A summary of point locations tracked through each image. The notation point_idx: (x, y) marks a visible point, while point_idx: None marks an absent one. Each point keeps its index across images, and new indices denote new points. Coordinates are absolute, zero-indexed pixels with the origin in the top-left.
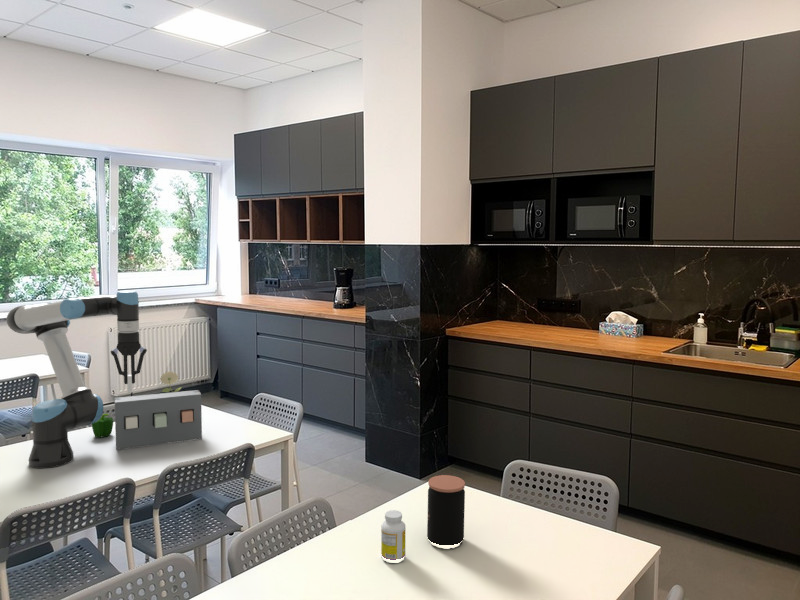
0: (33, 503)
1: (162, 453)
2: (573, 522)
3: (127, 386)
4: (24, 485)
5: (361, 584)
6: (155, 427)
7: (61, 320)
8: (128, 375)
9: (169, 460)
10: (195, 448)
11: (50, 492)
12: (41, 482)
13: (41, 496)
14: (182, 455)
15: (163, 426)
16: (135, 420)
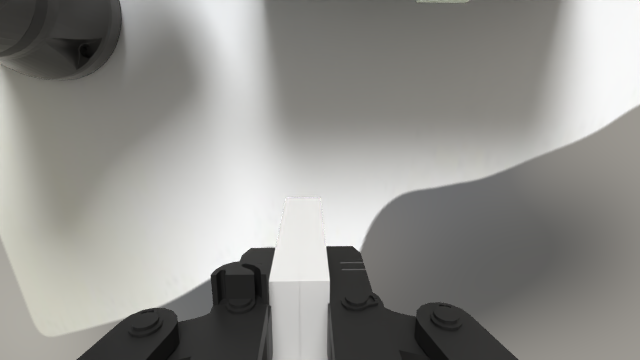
0: (89, 324)
1: (405, 87)
2: None
3: (282, 215)
4: (30, 201)
5: None
6: (417, 1)
7: None
8: (286, 332)
9: (414, 165)
10: (513, 82)
11: (112, 275)
12: (71, 197)
13: (96, 291)
14: (458, 136)
15: (452, 2)
16: None
